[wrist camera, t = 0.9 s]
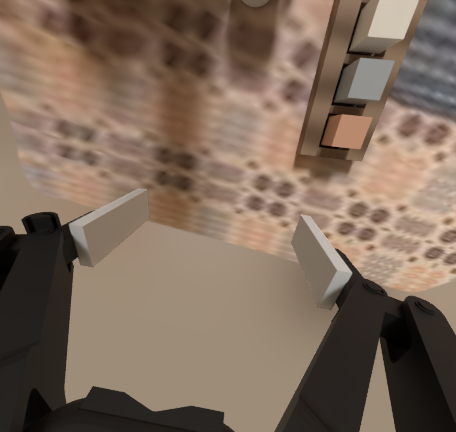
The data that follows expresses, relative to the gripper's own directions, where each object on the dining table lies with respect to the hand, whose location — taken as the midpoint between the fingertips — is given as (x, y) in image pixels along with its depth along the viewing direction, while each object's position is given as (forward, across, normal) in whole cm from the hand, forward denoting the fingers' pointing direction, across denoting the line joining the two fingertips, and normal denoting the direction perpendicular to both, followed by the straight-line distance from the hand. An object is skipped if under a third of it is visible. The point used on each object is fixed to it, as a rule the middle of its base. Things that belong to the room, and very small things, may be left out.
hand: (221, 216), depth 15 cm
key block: (+25, +16, +15) cm, 33 cm away
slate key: (+22, +16, +15) cm, 32 cm away
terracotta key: (+22, +17, +9) cm, 29 cm away
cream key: (+22, +16, +22) cm, 35 cm away
